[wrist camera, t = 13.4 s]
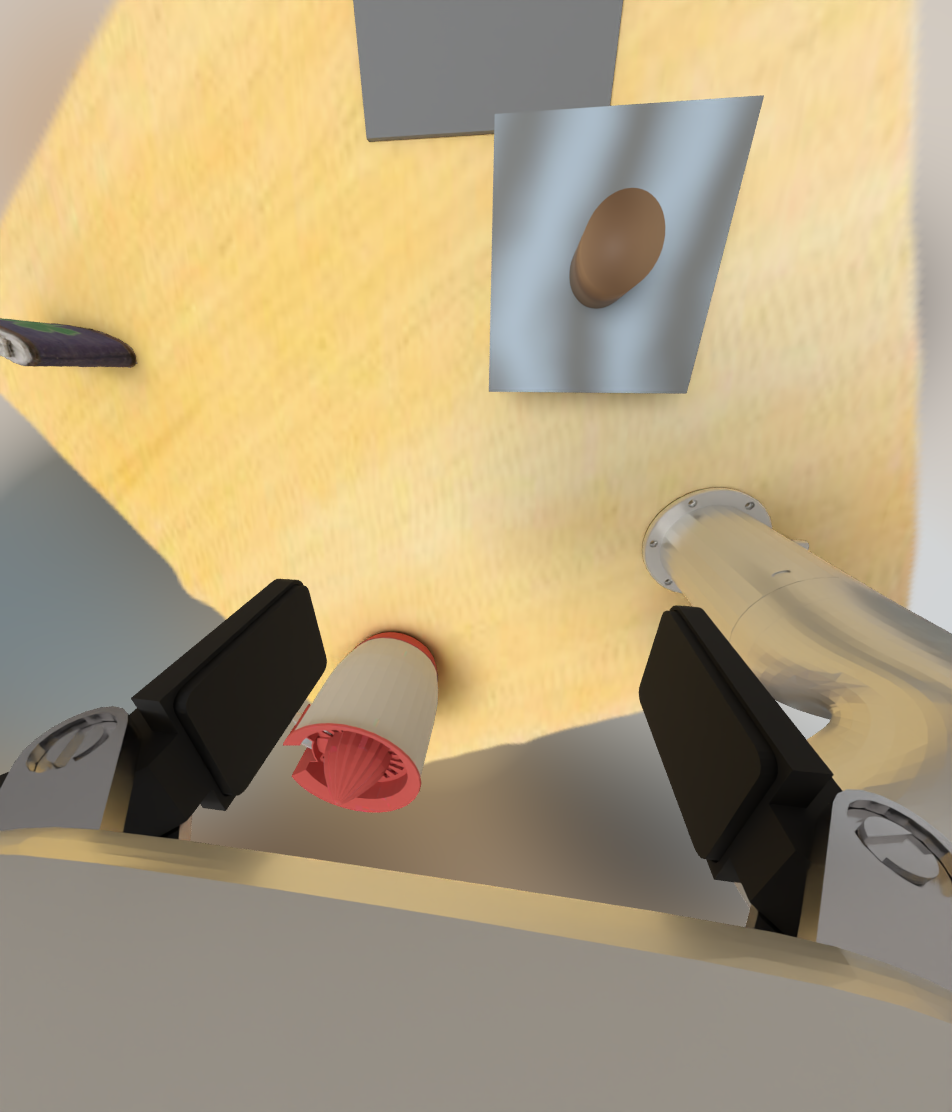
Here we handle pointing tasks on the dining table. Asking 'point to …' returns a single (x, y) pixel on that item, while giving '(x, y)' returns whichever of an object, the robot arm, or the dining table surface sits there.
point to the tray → (480, 61)
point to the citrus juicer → (370, 726)
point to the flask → (61, 345)
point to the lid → (610, 241)
